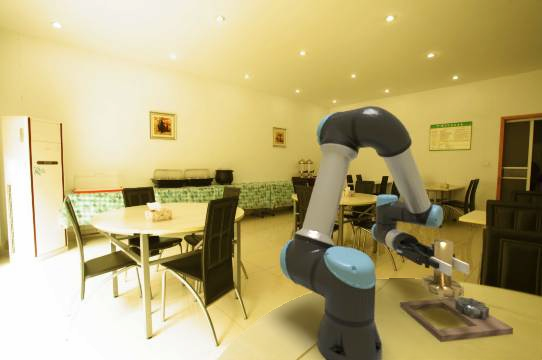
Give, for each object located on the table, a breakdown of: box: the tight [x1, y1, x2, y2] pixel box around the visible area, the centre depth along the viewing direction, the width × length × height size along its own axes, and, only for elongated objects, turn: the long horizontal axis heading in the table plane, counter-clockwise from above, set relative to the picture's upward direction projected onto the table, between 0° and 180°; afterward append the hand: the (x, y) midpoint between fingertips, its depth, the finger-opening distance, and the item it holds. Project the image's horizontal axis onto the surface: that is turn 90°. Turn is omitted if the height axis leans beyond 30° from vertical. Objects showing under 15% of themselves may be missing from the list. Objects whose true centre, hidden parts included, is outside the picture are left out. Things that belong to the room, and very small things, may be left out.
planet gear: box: [421, 238, 465, 299], centre depth 73 cm, size 10×10×14 cm
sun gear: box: [455, 296, 490, 320], centre depth 75 cm, size 8×8×2 cm
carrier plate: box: [399, 297, 514, 343], centre depth 74 cm, size 21×16×2 cm
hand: (459, 270), depth 67 cm, fingers closed on planet gear, 4 cm apart
